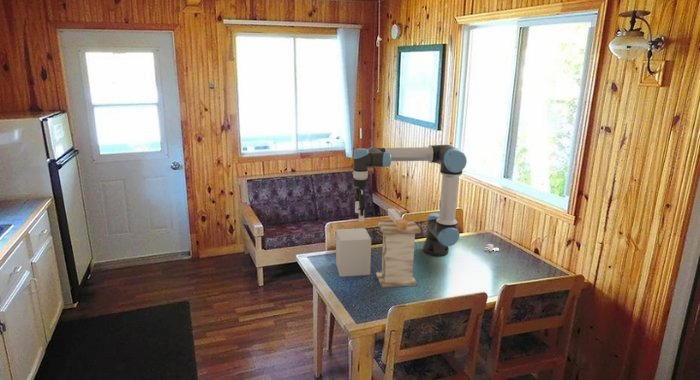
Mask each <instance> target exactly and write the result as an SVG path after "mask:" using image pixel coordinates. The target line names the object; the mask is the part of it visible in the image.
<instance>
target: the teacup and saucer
mask: <svg viewBox="0 0 700 380" xmlns="http://www.w3.org/2000/svg"><path fill="white" fill-rule="evenodd" d="M485 247H487V248H488V249H486V251H488V250H490V251H489V252H495V251H497V252H499V251H500V249H499V247H494V244H492V243H488V244H486V245H485ZM493 250H494V251H493Z"/></svg>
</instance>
